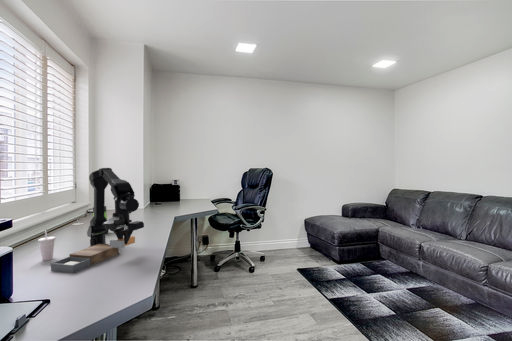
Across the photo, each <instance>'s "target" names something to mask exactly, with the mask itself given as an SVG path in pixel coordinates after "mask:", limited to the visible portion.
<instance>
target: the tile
mask: <svg viewBox="0 0 512 341" xmlns="http://www.w3.org/2000/svg"><path fill="white" fill-rule="evenodd" d="M77 263H80V262H74V261H70V262H67V263H65V264H68V265H75V264H77Z"/></svg>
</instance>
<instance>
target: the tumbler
mask: <svg viewBox="0 0 512 341" xmlns="http://www.w3.org/2000/svg"><path fill="white" fill-rule="evenodd" d="M107 215H108V214H107V206H106V205H104V217H105V218H106V219H107V220H108V216H107ZM92 216H93V217H94V206H93V207H92ZM93 217H92V218H93Z"/></svg>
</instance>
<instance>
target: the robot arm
mask: <svg viewBox="0 0 512 341" xmlns="http://www.w3.org/2000/svg"><path fill="white" fill-rule="evenodd" d="M88 177H89V178H88V179H89V182H90V183H89V184H90V185H91V187H92V188H93V207H94V217H92V218H91V220H90V222H89V226H88V229H87V231H86V235H87V237H89V238H90V239H89V244H90V246H89V247H91V246H94V245H97V244H107V242H106V235H108V234H109V231H110V232H112V233H114V235H115V236H116V238H117V240H118V239H122V238H124V242H125V244H127V243H128V241H129V239H130V236H132V234H133V232H134V231H137V230H140V229H143V228H145V223H144V222H143V221H139V220H136V221H133V220H132V219H131V218H130V215H131V214H132V212H136V211H137V210H138V209H139V206H140V203H139V201H138V199H136V198H135V191H134V189H133V187H132V185H131V183H130V182H129V181H127V180H124V179H121V178H120V177H119V176H118V175H117V174H116V173H115V172H114V171H113V169H112V168H111V167H101V168H99V169H97V170H95V171H93V172H91V173H90V174H89V176H88ZM108 186H110V191H111V194H112V195H113V198H112V199H113V200H114V212H113V213H112V215H111V216H112V217H110V218H107V219H106V218H105V217H104V206H106V205H105V202H106V201H105V195H106V194H105V190H106V188H107V187H108Z"/></svg>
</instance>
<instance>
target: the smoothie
mask: <svg viewBox="0 0 512 341" xmlns="http://www.w3.org/2000/svg"><path fill="white" fill-rule="evenodd" d="M44 236H45V237H42V238H39V239H38V240H37V243H38V244H39V245H38V246H39V250H40V254H41V258H42V261H50V260H53V258H54V252H55V250H54V249H55V242H56V236H48V230H47V229H45V230H44Z"/></svg>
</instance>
